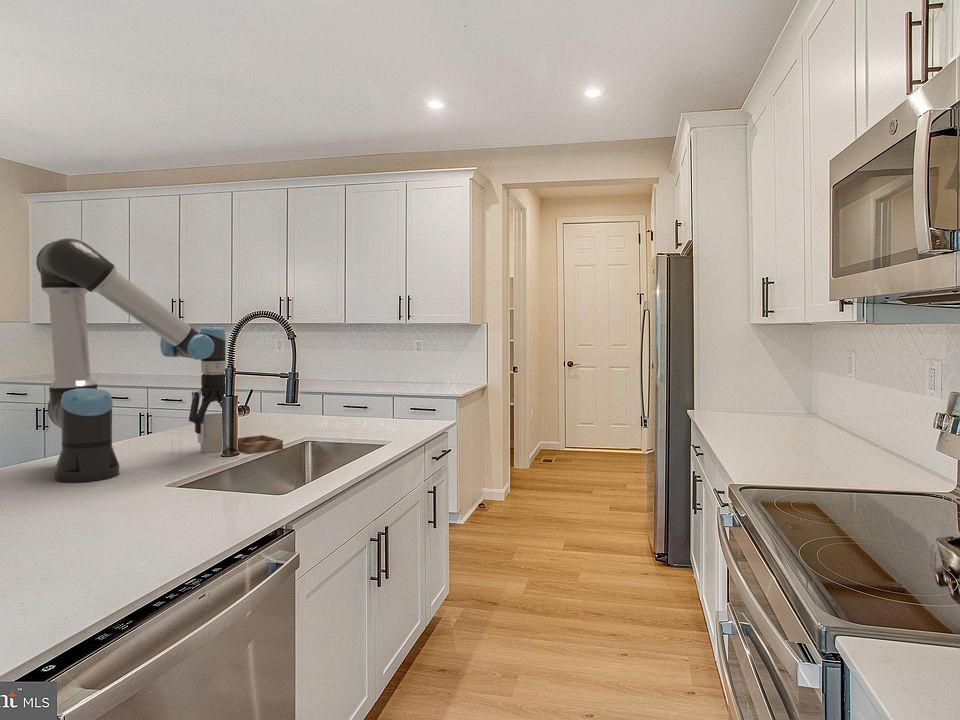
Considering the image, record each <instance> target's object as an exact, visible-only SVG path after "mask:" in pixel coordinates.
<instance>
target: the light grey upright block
mask: <svg viewBox="0 0 960 720" xmlns="http://www.w3.org/2000/svg"><path fill="white" fill-rule="evenodd" d="M222 413H223V412H210V413H205V415H204V417H203V419H202V422H201V423H203V424H204V443H202V444H201V443H200V452H201V453H204V454H205V453H206V454H207V453H208V454H216V453H222V452H221V451H222Z"/></svg>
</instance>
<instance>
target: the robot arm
mask: <svg viewBox="0 0 960 720" xmlns="http://www.w3.org/2000/svg"><path fill="white" fill-rule="evenodd" d="M35 262H36V268H37V270H38V273H39V274H40V285H41V290H42V291H43V292H45V293H46V294H47V296H48V301H49V302H48V303H49V304H48V305H49V316H50V331H51V341H52V342H51V345H52V356H53V369H54V381H52V383H50V384H49V386H48V389H49V390H48V391H49V401H48V404H47V409H46V410H47V415H48V417H49V419H50V420H51V422H52V423H53V424H54V425H55V426H56V427H59V428H60V429H61V452H60V454H59V456H58V460H57V462H56V464H55V468H54V469H53V470H54V471H53V472H54V473H53V475H54V477H53V479H54V480H55V481H58V482H64V483H65V482H66V483H80V482H81V483H82V482H83V483H84V482H94V481H99V480H105V479H110V478H113V477H115V476H116V477H117V475H118V476H119V474H120V462H119V461H118V457H117V456H116V452H115V450H114V448H113V406H114V405H113V399H112V394H111V393H110V392H109V391H107V390H105V389H99V388H98V382H97V381H95V380H94V379H93V378H92V377H91V366H90V365H91V364H90V353H89V352H90V351H89V349H90V348H89V338H88V337H89V334H88V325H87V324H88V322H87V310H86V309H87V306H86V294H88V293H97V294H99V295H101V296H102V297H103V298H105V299H106V300H107V301H109V302H110V303H111V304H113V305H114V306H116V307H118V308H119V309H120V310H122V311H123V312H124V313H125V314H127V315H129V316H130V317H132V318H134V320H136V321H138V323H141V324H142V325H144V326H145V327H146V328H148V329H149V330H151V331H152V332H153V333H155V334H157V336H159V337H160V343H159V344H160V345H159V346H160V353H161V354H162V355H163V356H164V357H166V358H177V357H178V358H187V359H194V360H200V367H201V369H200V372H201V376H200V378H201V379H200V381H201V383H200V385H201V389H200V390H198V391H192V392H191V397H192V400H191V406H190V411H189V416H188V422H190V423H194V432H195V434H197V443H199V444H200V445H201V444H202V443H204V424H203V423H201V422H202V419H203V417H204V415H205V414H206V412H207V410H208V407H209V405H211V403H213V402H217V403H218V404H219V406H220V408H221V409H222V403H221V401H222V398H223V396H225V395H226V393H225V386H226V385H225V375H226V372H225V369H226V367H227V363H226V362H227V361H226V345H227V344H226V342H227V340H226V339H227V338H226V331H225V328H223V327H221V326H219V327H218V326H203V327H201V328H200V332H199V331H197V330H196V329H195V328H194V327H191V325H189V324H188V323H187V322H186V321H184V320H182V319H181V318H180V317H179V316H177V315H175V313H173V312H172V311H170V310H169V309H168V308H166V306H163V305H162V304H161V303H160V302H158V301H157V300H156V299H155V298H153V297H151V295H149V294H147V293H146V292H145V291H143V290H142V289H141V288H139V286H136V285H135V284H134V283H133V282H131V281H130V280H128V279H127V278H126V277H125V276H123V275H122V274H121V273H119V272H118V271H117V267H116V265H115V264H113V263H112V262H111V261H109V260H108V259H107V258H106V257H105V256H103V255H102V253H100V252H98V251H97V250H95V249H94V248H93V247H91V245H89V244H88V243H86V242H84V241H81V240H79V239H76V238H61V239H58V240H55V241H52V242H49V243H47V244H45V245H44V246H43V247H42V248H41V249H40V250H39V252H38V253H37V256H36V261H35ZM226 370H227V369H226ZM224 394H225V395H224ZM201 395H202V396H201ZM201 397H203V398H202V400H201V404H200V399H201ZM199 405H200V407H199Z"/></svg>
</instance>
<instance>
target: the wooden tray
mask: <svg viewBox="0 0 960 720" xmlns="http://www.w3.org/2000/svg"><path fill="white" fill-rule="evenodd" d="M237 438H238V450H239V451H238V452H239V453H243V454H246V455H250V454H257V453H263V452H270V451H276V450H282V449H283V448H284V445H283V443H284V439H281V438H280V439H279V438H275V437H272V436H268V435H264V434H261V435H260V434H259V435H252V436H244V437H237Z"/></svg>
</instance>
